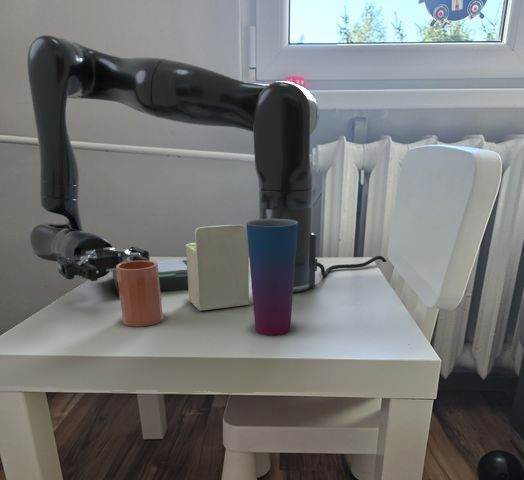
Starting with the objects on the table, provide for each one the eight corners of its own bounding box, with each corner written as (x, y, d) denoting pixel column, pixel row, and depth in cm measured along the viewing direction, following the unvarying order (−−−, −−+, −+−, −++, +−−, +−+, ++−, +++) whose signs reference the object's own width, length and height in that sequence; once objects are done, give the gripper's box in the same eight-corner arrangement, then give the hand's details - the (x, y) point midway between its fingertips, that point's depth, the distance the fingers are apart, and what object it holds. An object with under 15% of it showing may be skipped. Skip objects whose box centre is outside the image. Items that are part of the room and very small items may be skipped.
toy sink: (234, 293, 88) (232, 217, 83) (250, 305, 82) (248, 224, 77) (187, 299, 85) (182, 221, 80) (200, 312, 79) (194, 228, 73)
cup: (300, 323, 73) (302, 219, 68) (290, 339, 67) (291, 227, 62) (256, 319, 75) (254, 217, 69) (242, 335, 69) (239, 225, 63)
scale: (187, 271, 103) (186, 257, 102) (201, 287, 92) (200, 271, 91) (113, 278, 99) (111, 263, 98) (118, 296, 88) (116, 279, 86)
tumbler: (159, 312, 79) (154, 259, 76) (165, 323, 74) (160, 267, 71) (121, 316, 77) (114, 262, 74) (125, 328, 72) (117, 271, 69)
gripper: (40, 237, 84) (71, 252, 72) (120, 228, 92) (160, 240, 80) (49, 280, 87) (79, 301, 75) (125, 267, 95) (164, 285, 83)
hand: (121, 270), depth 78 cm, fingers open, 8 cm apart
